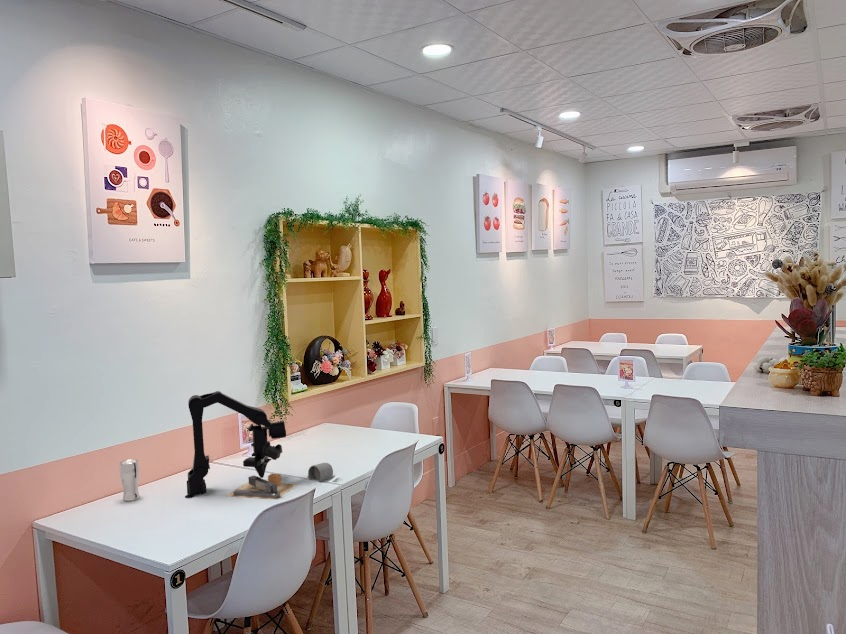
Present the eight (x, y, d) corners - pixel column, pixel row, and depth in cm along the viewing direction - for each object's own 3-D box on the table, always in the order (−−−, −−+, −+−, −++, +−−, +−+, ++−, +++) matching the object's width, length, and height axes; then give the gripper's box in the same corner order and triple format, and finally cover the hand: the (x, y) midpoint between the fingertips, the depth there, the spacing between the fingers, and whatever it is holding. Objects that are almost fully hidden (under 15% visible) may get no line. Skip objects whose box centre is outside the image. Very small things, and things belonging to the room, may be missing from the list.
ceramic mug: (334, 479, 273) (333, 461, 272) (321, 485, 266) (320, 467, 265) (316, 476, 279) (315, 458, 278) (302, 481, 272) (301, 463, 272)
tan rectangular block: (268, 485, 264) (268, 475, 263) (272, 483, 267) (271, 473, 266) (277, 486, 263) (277, 476, 262) (280, 483, 266) (280, 474, 265)
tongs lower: (281, 495, 252) (281, 483, 251) (277, 498, 248) (276, 486, 248) (237, 492, 256) (237, 480, 256) (232, 495, 253) (232, 483, 253)
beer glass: (133, 502, 252) (131, 464, 251) (117, 501, 254) (115, 464, 253) (144, 496, 259) (142, 459, 258) (129, 495, 261) (126, 458, 260)
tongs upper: (276, 491, 252) (275, 483, 252) (270, 492, 250) (270, 485, 250) (254, 482, 263) (254, 475, 263) (248, 484, 261) (248, 476, 261)
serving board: (225, 499, 253) (225, 496, 253) (249, 483, 270) (249, 481, 270) (277, 502, 248) (276, 499, 247) (297, 486, 265) (297, 484, 265)
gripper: (267, 447, 255) (268, 486, 256) (288, 435, 273) (290, 471, 274) (241, 446, 257) (243, 484, 259) (264, 434, 275) (266, 470, 277)
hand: (262, 477), depth 267 cm, fingers closed
